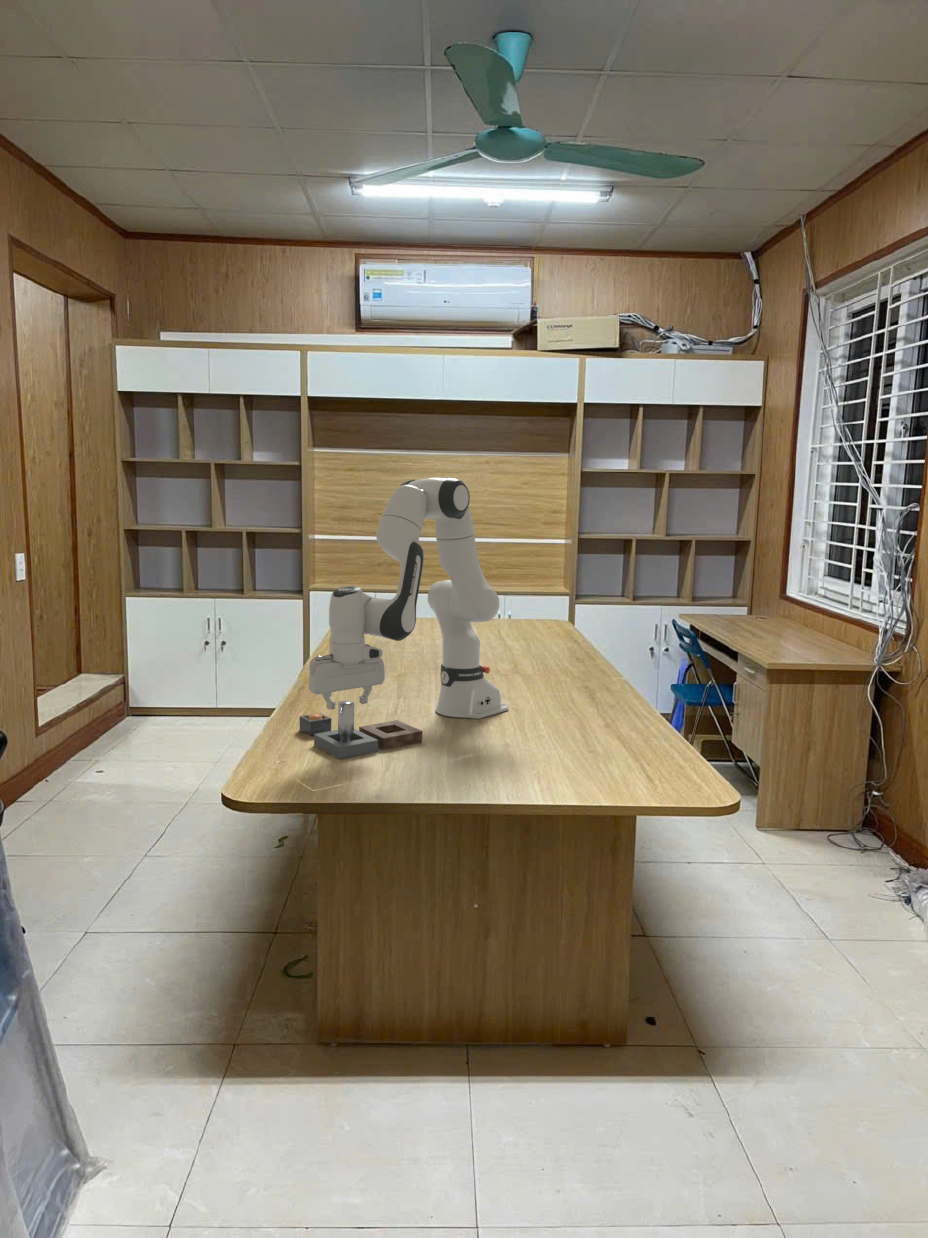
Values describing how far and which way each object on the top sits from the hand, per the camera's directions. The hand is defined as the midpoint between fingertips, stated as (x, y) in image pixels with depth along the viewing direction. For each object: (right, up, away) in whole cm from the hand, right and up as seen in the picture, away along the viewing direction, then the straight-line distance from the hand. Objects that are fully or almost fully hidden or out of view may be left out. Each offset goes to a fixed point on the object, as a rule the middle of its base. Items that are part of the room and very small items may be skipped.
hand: (347, 706), depth 213 cm
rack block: (-1, -11, +2) cm, 11 cm away
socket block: (+10, -10, +10) cm, 17 cm away
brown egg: (-11, -7, +15) cm, 20 cm away
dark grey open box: (-11, -8, +15) cm, 20 cm away
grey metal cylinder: (-1, -11, +2) cm, 11 cm away
